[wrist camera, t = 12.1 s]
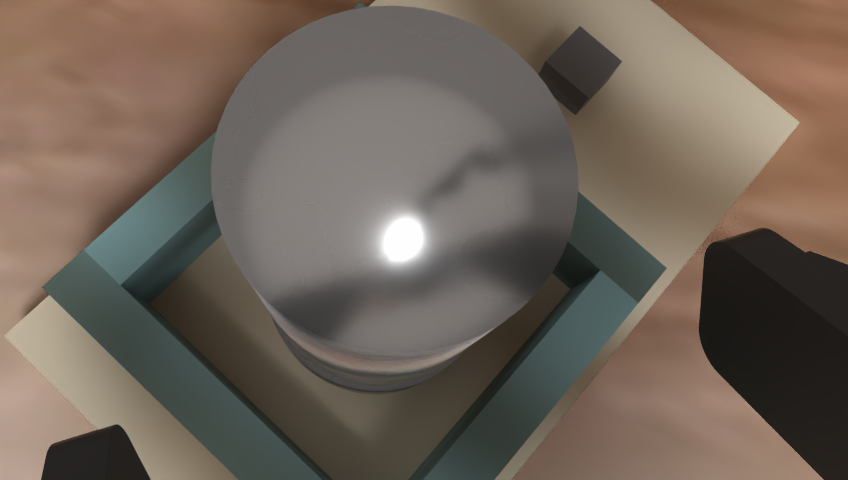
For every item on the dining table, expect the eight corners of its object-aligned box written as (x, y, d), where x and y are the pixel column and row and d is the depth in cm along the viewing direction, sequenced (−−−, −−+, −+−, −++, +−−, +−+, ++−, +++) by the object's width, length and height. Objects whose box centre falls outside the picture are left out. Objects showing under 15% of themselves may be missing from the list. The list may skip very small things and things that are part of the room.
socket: (370, 169, 20) (389, -65, 11) (508, 293, 20) (657, 165, 10) (235, 302, 19) (118, 171, 9) (379, 439, 18) (411, 449, 9)
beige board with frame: (497, -87, 25) (524, -182, 21) (772, 141, 24) (854, 85, 20) (28, 342, 20) (-49, 321, 16) (349, 660, 18) (349, 721, 15)
